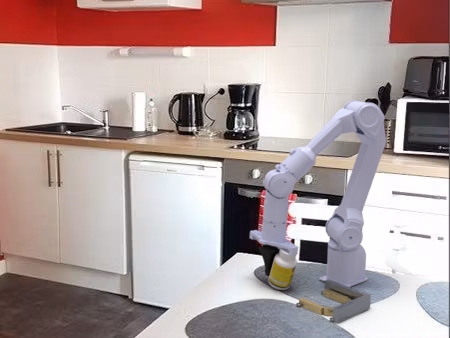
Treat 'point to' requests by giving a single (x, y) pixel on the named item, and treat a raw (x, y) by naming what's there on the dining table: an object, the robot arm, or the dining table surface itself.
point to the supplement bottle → (282, 270)
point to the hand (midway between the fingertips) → (270, 275)
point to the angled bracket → (348, 296)
